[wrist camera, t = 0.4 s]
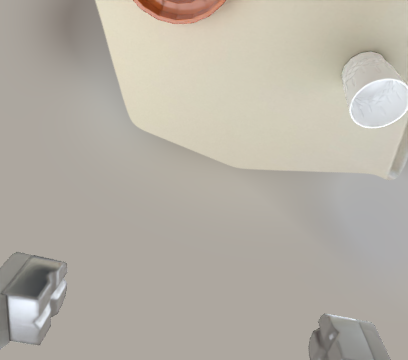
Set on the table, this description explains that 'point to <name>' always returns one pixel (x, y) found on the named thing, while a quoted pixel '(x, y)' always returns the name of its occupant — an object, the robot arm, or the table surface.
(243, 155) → the table surface
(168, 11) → the bowl
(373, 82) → the white cup
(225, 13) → the table surface
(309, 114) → the table surface
